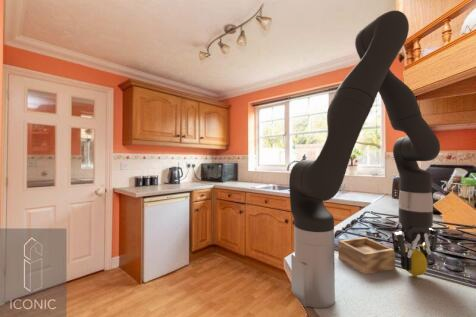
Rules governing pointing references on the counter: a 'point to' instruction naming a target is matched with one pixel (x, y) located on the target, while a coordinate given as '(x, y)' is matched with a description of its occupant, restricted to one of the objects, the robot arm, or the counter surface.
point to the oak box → (366, 255)
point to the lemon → (418, 263)
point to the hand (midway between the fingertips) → (415, 267)
